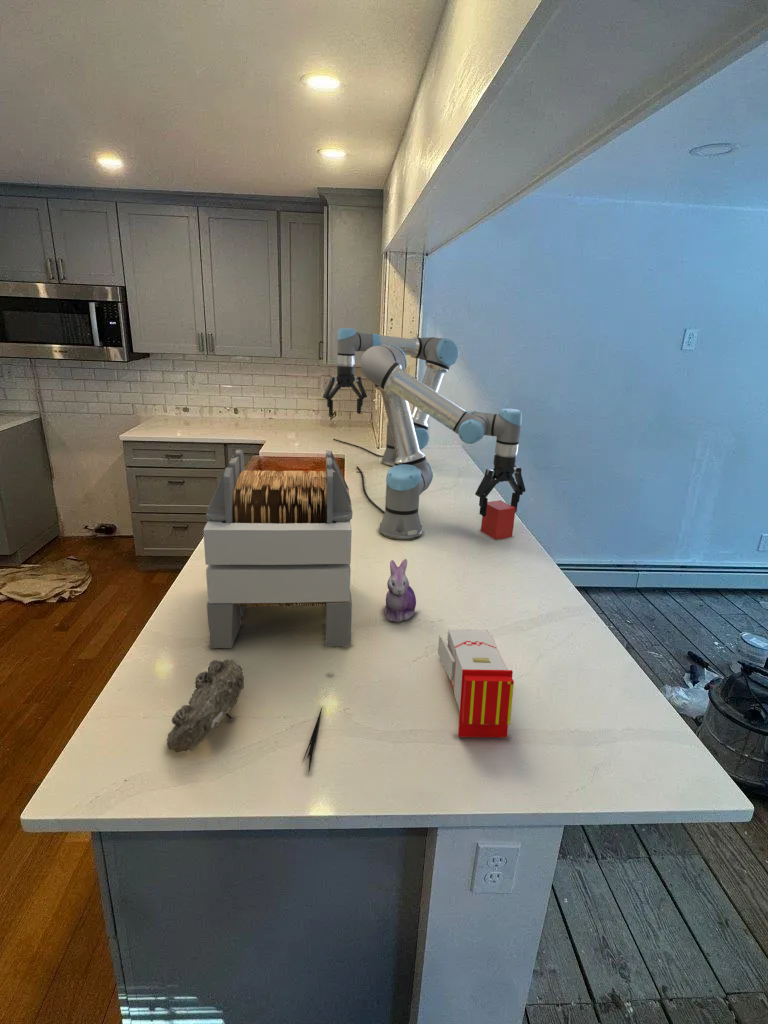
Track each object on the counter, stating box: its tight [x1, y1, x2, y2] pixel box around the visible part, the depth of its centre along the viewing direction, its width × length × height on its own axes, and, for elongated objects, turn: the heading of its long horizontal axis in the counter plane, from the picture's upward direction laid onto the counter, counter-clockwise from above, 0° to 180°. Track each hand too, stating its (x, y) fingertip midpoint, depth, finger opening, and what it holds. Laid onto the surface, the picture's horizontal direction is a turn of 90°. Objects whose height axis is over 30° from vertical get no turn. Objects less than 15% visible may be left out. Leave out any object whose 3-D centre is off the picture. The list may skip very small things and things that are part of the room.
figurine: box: [384, 558, 417, 623], centre depth 145 cm, size 9×10×15 cm
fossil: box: [166, 658, 245, 754], centre depth 106 cm, size 22×10×15 cm
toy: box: [437, 628, 515, 738], centre depth 117 cm, size 12×13×30 cm
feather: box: [301, 673, 332, 771], centre depth 108 cm, size 2×28×2 cm
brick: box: [480, 499, 516, 541], centre depth 202 cm, size 9×7×11 cm
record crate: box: [202, 448, 353, 650], centre depth 139 cm, size 34×33×41 cm
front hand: (498, 513), depth 201 cm, fingers open, 13 cm apart
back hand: (344, 414), depth 254 cm, fingers open, 13 cm apart
